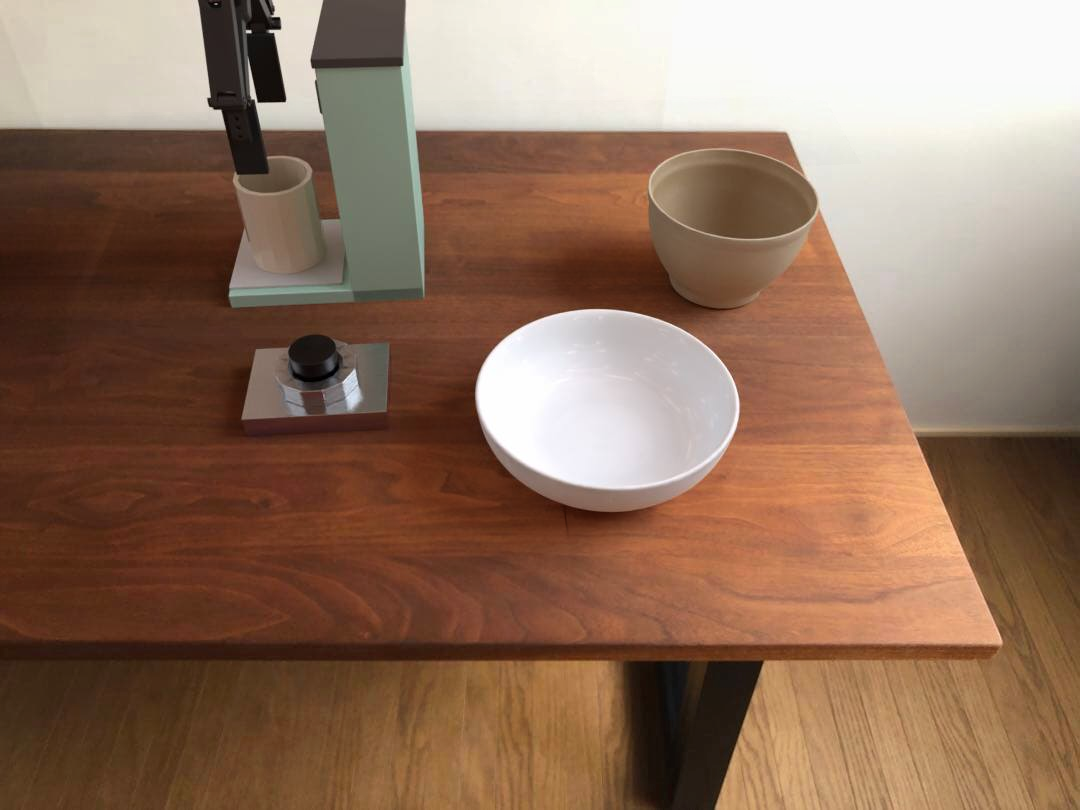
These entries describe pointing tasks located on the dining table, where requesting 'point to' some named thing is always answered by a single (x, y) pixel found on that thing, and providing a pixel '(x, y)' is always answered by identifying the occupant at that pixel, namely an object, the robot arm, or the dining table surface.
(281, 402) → the button block
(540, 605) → the dining table surface
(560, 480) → the serving bowl
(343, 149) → the coffee maker
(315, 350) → the button
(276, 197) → the cup
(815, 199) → the planter bowl
